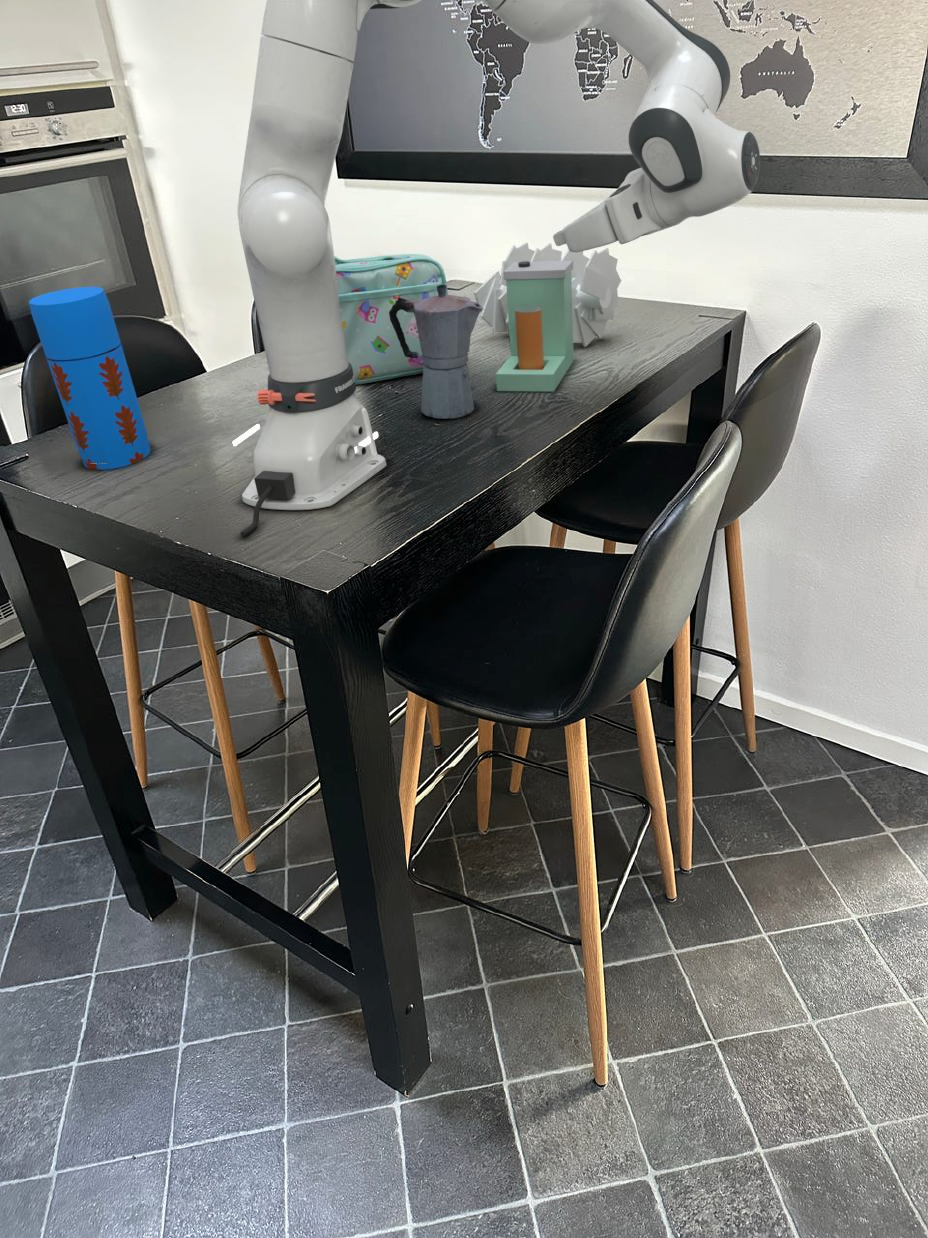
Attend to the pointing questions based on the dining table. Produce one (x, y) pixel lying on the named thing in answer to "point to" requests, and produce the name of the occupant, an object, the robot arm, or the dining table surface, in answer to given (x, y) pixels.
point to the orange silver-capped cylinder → (529, 337)
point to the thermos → (91, 376)
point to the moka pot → (442, 350)
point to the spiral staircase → (589, 290)
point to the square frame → (531, 375)
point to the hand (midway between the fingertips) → (572, 228)
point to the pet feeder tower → (543, 303)
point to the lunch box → (383, 311)
